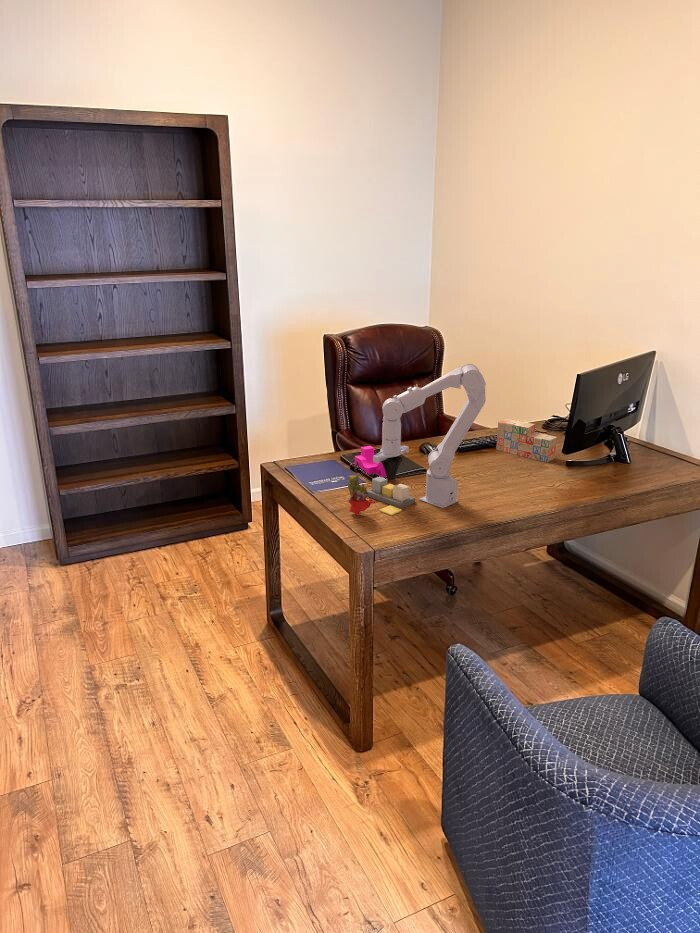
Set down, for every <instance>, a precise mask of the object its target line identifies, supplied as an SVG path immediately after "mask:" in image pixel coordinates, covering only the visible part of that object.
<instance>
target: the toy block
mask: <svg viewBox="0 0 700 933" xmlns="http://www.w3.org/2000/svg"><path fill="white" fill-rule="evenodd" d="M375 455H376V454H375V448H374V446H371V445H367V446H361V447H360V455H355V456H354V466H355V465H359V466H358V467H360V468H361V469H362V470H364V471H365V472H366V473H368V474H372V473H377V474H378V475H380V476H381V477H386V472H385V469H384V466H383V464H382V463H381V461H380V463H375V462H373V456H375Z"/></svg>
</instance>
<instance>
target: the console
mask: <svg viewBox="0 0 700 933" xmlns="http://www.w3.org/2000/svg"><path fill="white" fill-rule="evenodd" d="M366 490H367V492H368V495H367V497H368V498H371V499H372V500H375V501H378V502H382V503H384V504H387V505H388V506H389V505H391V506H393V507H396V508H399V509H401V510H402V509H403V508H406V507H408V506H410V505H412V504H414V503H415V504H416V497H414V496H411V495H409V499H406V500H404V501H402V502H401V501H398V500H396V499H393V497H391V498H390V497H387V496H384V495H382V493H381V494H379V493H377V492H374V491H372V488H369V489H366Z"/></svg>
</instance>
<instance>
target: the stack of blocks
mask: <svg viewBox="0 0 700 933" xmlns="http://www.w3.org/2000/svg"><path fill="white" fill-rule="evenodd" d="M535 428H536V424H535V423H530V422H526V421H520V420H515V419H510V418H504V419H502V420H500V421H498V422H497V433H496V449H495V450H496V451H500V452H504V453H508V454H512V455H516V456H520V457H524V458H528V459H532V460H535V461H539V462H543V463H550V462H551V461H553V460H554V459H555V458H556V456H555V455H556V450H557V448H556V447H557V443H558V442H557V440H558V437H557V436H553V435H549V434H545V433H541V432H537V431H536V432H535Z"/></svg>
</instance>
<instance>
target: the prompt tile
mask: <svg viewBox="0 0 700 933" xmlns="http://www.w3.org/2000/svg"><path fill="white" fill-rule="evenodd" d="M378 512H380V513H384V514H386V515H388V516H394V515H396V514H399V513H401V512H403V509H402V508H401V509H400V508H397V507H395V506H392V505H389V504H388V505H387V506H385V507H382V508H380V509H379V510H378Z"/></svg>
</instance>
